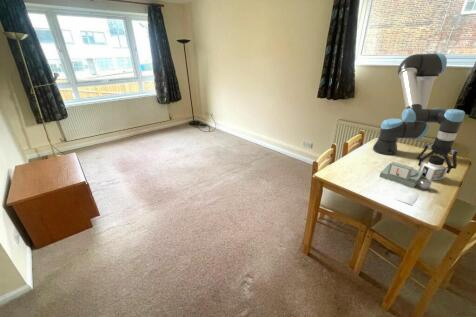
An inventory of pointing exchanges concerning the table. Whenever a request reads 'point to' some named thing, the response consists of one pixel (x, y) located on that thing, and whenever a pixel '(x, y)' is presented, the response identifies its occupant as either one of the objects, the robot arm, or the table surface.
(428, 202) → the table surface
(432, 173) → the container
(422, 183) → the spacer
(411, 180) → the scale
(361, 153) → the table surface
